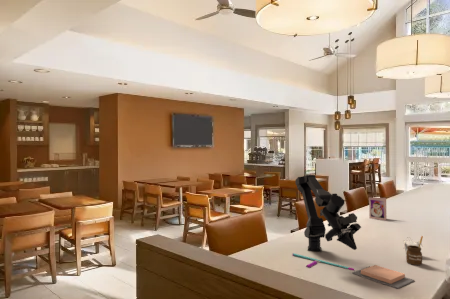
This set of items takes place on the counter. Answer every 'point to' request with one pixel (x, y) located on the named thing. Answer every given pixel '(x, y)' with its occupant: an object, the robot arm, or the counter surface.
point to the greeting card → (377, 208)
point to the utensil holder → (414, 254)
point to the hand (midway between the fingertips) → (355, 249)
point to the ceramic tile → (383, 274)
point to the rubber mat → (396, 284)
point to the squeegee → (319, 262)
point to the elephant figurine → (412, 245)
